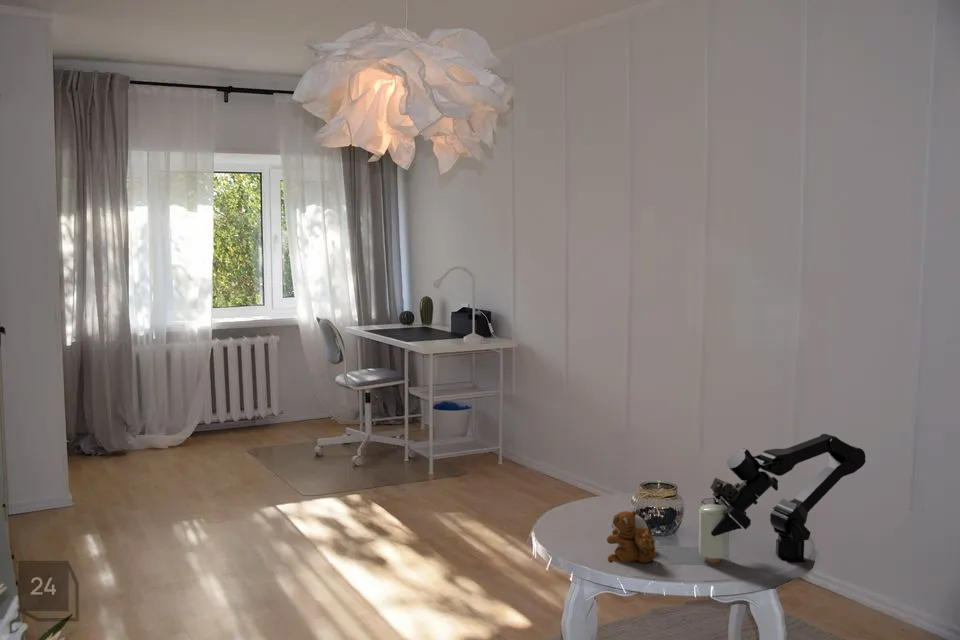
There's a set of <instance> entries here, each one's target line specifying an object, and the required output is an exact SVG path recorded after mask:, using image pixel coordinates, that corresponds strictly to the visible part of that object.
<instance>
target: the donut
mask: <svg viewBox="0 0 960 640" xmlns="http://www.w3.org/2000/svg"><path fill="white" fill-rule="evenodd" d="M635 526H636V528H637V529H638V528H640V527H642V528H646V529H648V530H649V527H648V525H647V522H646V521H645V520H644V519H643V517H641V516H639V515H638V514H636V515H635ZM614 529H617V528H616V527H615V526H614V525H613V528H612V531H613V530H614Z"/></svg>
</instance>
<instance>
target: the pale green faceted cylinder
mask: <svg viewBox="0 0 960 640" xmlns="http://www.w3.org/2000/svg"><path fill="white" fill-rule="evenodd" d="M724 510H725V511H726V512H727V513H728V511H727V507H725V506H722V505H716V504H713V503H712V504H710V503H708V504H707V503H706V504H703V505H700V508H699V509H698V547H699V553H700V555H701V556H704V557H708V558H724V557H727V556H728V557H729V555H730V547H729V546H730V531H729V532H726V533H723V534H720V535H717V536H713V535H712V534H711V532H712V531H713V530H714V528H715V527H716V526H717V525H718V523H719V522H720V521H721V520H722V518H723V511H724ZM728 514H729V513H728Z"/></svg>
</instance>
